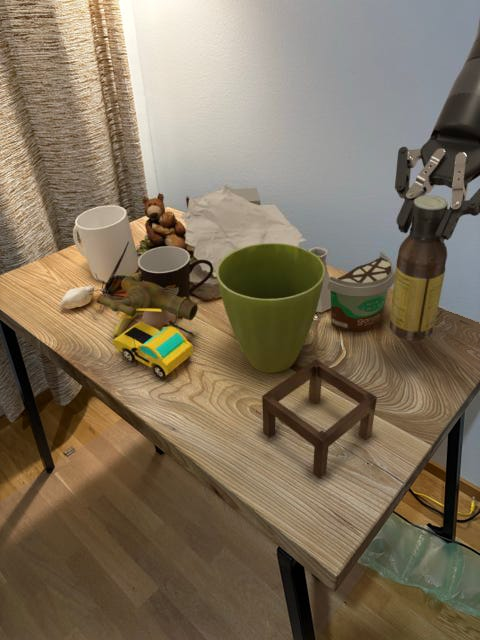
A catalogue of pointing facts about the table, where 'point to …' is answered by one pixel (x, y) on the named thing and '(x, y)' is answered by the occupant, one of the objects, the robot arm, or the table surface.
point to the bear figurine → (162, 229)
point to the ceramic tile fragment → (204, 284)
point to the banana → (123, 325)
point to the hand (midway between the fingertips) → (420, 235)
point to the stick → (181, 328)
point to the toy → (248, 194)
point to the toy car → (154, 346)
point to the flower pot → (271, 300)
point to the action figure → (149, 299)
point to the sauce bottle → (419, 272)
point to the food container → (361, 295)
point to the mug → (106, 241)
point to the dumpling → (77, 297)
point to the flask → (325, 293)
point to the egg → (158, 318)
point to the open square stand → (315, 375)
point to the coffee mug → (170, 269)
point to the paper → (233, 226)
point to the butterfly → (114, 283)
